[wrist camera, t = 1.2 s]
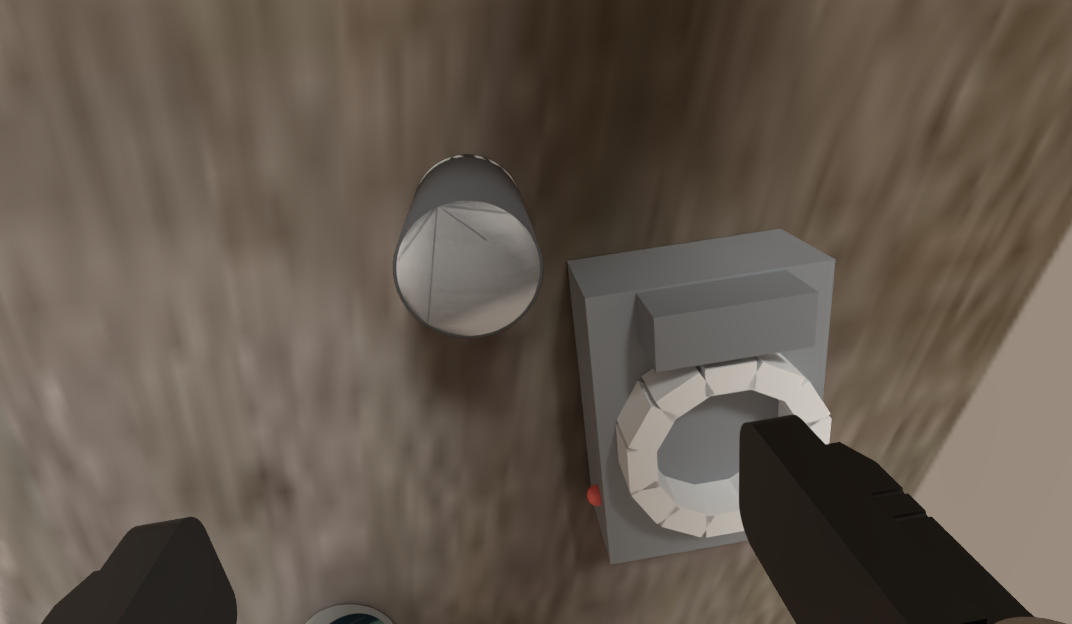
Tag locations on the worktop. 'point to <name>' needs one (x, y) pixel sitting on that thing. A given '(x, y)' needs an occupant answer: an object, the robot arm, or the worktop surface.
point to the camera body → (692, 378)
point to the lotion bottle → (349, 615)
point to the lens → (467, 250)
